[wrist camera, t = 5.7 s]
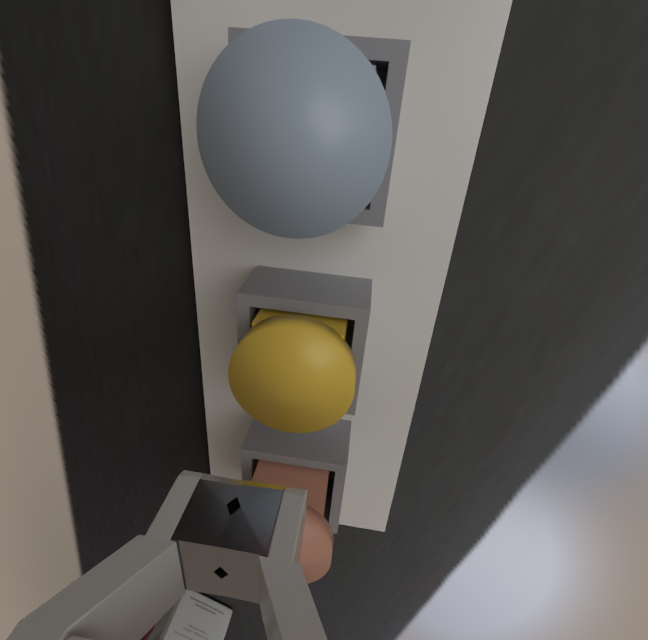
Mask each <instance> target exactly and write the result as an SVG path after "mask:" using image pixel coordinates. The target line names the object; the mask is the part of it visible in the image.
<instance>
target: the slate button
mask: <svg viewBox="0 0 648 640" xmlns="http://www.w3.org/2000/svg"><path fill="white" fill-rule="evenodd" d="M196 133H197V141H198V148H199V152H200V156H201V160H202V163H203V165H204V168H205V171H206V173H207V176H208V178H209V180H210V182H211V184H212V185H213V187H214V189H215V190H216V192H217V193H218V195H219V196H220V197H221V199H222V200H223V201H224V202H225V204H226V205H227V206H228V207H229V208H230V209H231V210H232V211H233V212H234V213H235V214H236V215H237V216H239V217H240V218H241V219H242V220H244V221H245V222H247V223H248V224H250V225H252V226H253V227H255V228H257V229H259V230H261V231H263V232H266V233H268V234H272V235H275V236H279V237H284V238H293V239H304V238H313V237H318V236H322V235H325V234H328V233H331V232H333V231H335V230H337V229H339V228H341V227H343V226H345V225H346V224H348V223H349V222H350V221H352V220H353V219H354V218H356V217H357V216H358V215H359V214H360V213H361V212H362V211H363V210H364V209H365V208H366V206H367V205H368V204H369V203H370V202H371V200H372V199H373V197H374V196H375V194H376V193H377V191H378V189H379V187H380V185H381V183H382V181H383V179H384V176H385V173H386V170H387V167H388V164H389V159H390V154H391V148H392V119H391V112H390V106H389V103H388V99H387V96H386V92H385V90H384V87H383V85H382V83H381V80H380V78H379V76H378V74H377V72H376V65H372V64H371V63H370V62H369V60H368V59H367V58H366V57H365V55H364V54H363V53H362V52H361V51H360V50H359V49H358V48H357V47H356V46H355V45H354V44H353V43H352V42H351V41H350V40H348V39H347V38H346V37H344V36H343V35H341V34H340V33H339V32H337V31H335V30H333V29H331V28H329V27H327V26H325V25H322V24H319V23H316V22H313V21H309V20H302V19H278V20H272V21H267V22H264V23H262V24H259V25H256V26H254V27H252V28H250V29H248V30H246V31H245V32H243V33H241V34H240V35H239V36H237V37H236V38H235V39H234V40H232V41H231V42H230V43H229V44H228V45H227V46H226V47H225V48H224V49H223V50H222V51H221V53H220V54H219V55H218V57H217V58H216V60H215V61H214V62H213V64H212V66H211V68H210V70H209V72H208V74H207V75H206V78H205V80H204V83H203V86H202V89H201V92H200V97H199V101H198V107H197V116H196Z"/></svg>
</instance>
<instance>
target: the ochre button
mask: <svg viewBox="0 0 648 640" xmlns="http://www.w3.org/2000/svg"><path fill="white" fill-rule="evenodd" d="M347 327H348V319H342V318H335V317H327V316H319V315H311V314H304V313H296V312H288V311H280V310H273V309H265V308H261V309H260V311H259V312H258V314H257V316H256V317H255V319H254V320H253V322H252V327H251V328H250V329H249V330H248V331H247V333H246V334H245V335H244V336H243V338H242V340H241V341H240V343H239V344H238V346H237V348H236V349H235V351H234V353H233V354H232V356H231V359H230V362H229V367H228V380H229V385H230V389H231V391H232V393H233V396H234V397H235V399H236V401H237V402H238V403H239V405H240V406H241V407H242V408H243V409H244V410H245V411H246V412H247V413H248V414H249V415H250V416H251V417H253V418H254V419H256V420H257V421H259V422H260V423H262V424H264V425H266V426H268V427H271V428H273V429H277V430H280V431H284V432H291V433H309V432H315V431H319V430H322V429H325V428H327V427H329V426H331V425H333V424H334V423H336V422H337V421H339V420H340V419H341V418H342V417H343V416H344V415H345V414H346V412H347V411H348V409H349V408H350V406H351V404H352V401H353V398H354V393H355V382H356V362H355V358H354V355H353V353H352V351H351V349H350V347H349V345H348V344H347V342H346V336H347Z"/></svg>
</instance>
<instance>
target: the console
mask: <svg viewBox="0 0 648 640" xmlns="http://www.w3.org/2000/svg"><path fill="white" fill-rule="evenodd" d="M511 4H512V0H171V12H172V24H173V36H174V47H175V59H176V71H177V83H178V95H179V106H180V118H181V130H182V142H183V154H184V165H185V177H186V189H187V201H188V213H189V224H190V236H191V248H192V260H193V272H194V283H195V295H196V307H197V319H198V331H199V343H200V354H201V366H202V378H203V390H204V402H205V413H206V425H207V437H208V449H209V461H210V472H211V475H215V476H220V477H226V478H231V479H237V480H242V481H245V480H247V481H252V478H253V475H254V473H255V470H256V467H257V464H258V461H259V460H265V461H272V462H278V463H284V464H290V465H297V466H303V467H309V468H316V469H322V470H328V471H330V472H329V480H328V488H327V497H326V504H325V511H324V518H325V519H326V520H327V521H328V522H329V524H330V526H331V528H332V531H333V533H335V534H337V531H338V524H342V525H348V526H354V527H360V528H366V529H372V530H377V531H383V532H385V528H386V523H387V519H388V515H389V511H390V507H391V503H392V499H393V494H394V490H395V486H396V482H397V478H398V474H399V469H400V465H401V461H402V457H403V453H404V449H405V445H406V440H407V436H408V432H409V428H410V424H411V420H412V415H413V411H414V407H415V403H416V399H417V395H418V391H419V386H420V382H421V378H422V374H423V370H424V366H425V361H426V357H427V353H428V349H429V345H430V341H431V337H432V332H433V328H434V324H435V320H436V316H437V312H438V307H439V303H440V299H441V295H442V291H443V287H444V282H445V278H446V274H447V270H448V266H449V262H450V258H451V253H452V249H453V245H454V241H455V237H456V233H457V228H458V224H459V220H460V216H461V212H462V208H463V204H464V199H465V195H466V191H467V187H468V183H469V179H470V174H471V170H472V166H473V162H474V158H475V154H476V150H477V145H478V141H479V137H480V133H481V129H482V125H483V120H484V116H485V112H486V108H487V104H488V100H489V96H490V91H491V87H492V83H493V79H494V75H495V71H496V66H497V62H498V58H499V54H500V50H501V46H502V42H503V37H504V33H505V29H506V25H507V21H508V17H509V12H510V8H511ZM278 19H302V20H309V21H313V22H316V23H319V24H322V25H325V26H327V27H329V28H331V29H333V30H335V31H337V32H339V33H340V34H341V35H343V36H344V37H346V38H347V39H348V40H350V41H351V42H352V43H353V44H354V45H355V46H356V47H357V48H358V49H359V50H360V51H361V52H362V53H363V54H364V55H365V57H366V58H367V59H368V60H369V62H370V63H371V64H372V65H376V72H377V74H378V76H379V78H380V80H381V83H382V85H383V87H384V90H385V92H386V96H387V99H388V103H389V106H390V112H391V119H392V148H391V154H390V159H389V164H388V167H387V170H386V173H385V176H384V179H383V181H382V183H381V185H380V187H379V189H378V191H377V193H376V194H375V196H374V197H373V199H372V200H371V202H370V203H369V204H368V205H367V206H366V208H365V209H364V210H363V211H362V212H361V213H360V214H359V215H358V216H357V217H356V218H354V219H353V220H352V221H350V222H349V223H348V224H346V225H345V226H343V227H341V228H339V229H337V230H335V231H333V232H331V233H328V234H325V235H322V236H318V237H313V238H304V239H293V238H284V237H279V236H275V235H272V234H268V233H266V232H263V231H261V230H259V229H257V228H255V227H253V226H252V225H250V224H248V223H247V222H245V221H244V220H242V219H241V218H240V217H239V216H237V215H236V214H235V213H234V212H233V211H232V210H231V209H230V208H229V207H228V206H227V205H226V204H225V202H224V201H223V200H222V199H221V197H220V196H219V195H218V193H217V192H216V190H215V189H214V187H213V185H212V184H211V182H210V180H209V178H208V176H207V173H206V171H205V168H204V165H203V163H202V160H201V156H200V152H199V148H198V141H197V133H196V116H197V107H198V101H199V97H200V92H201V89H202V86H203V83H204V80H205V78H206V75H207V74H208V72H209V70H210V68H211V66H212V64H213V62H214V61H215V60H216V58H217V57H218V55H219V54H220V53H221V51H222V50H223V49H224V48H225V47H226V46H227V45H228V44H229V43H230V42H231V41H232V40H234V39H235V38H236V37H237V36H239V35H240V34H241V33H243V32H245V31H246V30H248V29H250V28H252V27H254V26H256V25H259V24H262V23H264V22H267V21H272V20H278ZM261 308H265V309H273V310H280V311H288V312H296V313H304V314H311V315H319V316H327V317H335V318H342V319H348V327H347V336H346V342H347V344H348V345H349V347H350V349H351V351H352V353H353V355H354V358H355V362H356V382H355V393H354V398H353V401H352V404H351V406H350V408H349V409H348V411H347V412H346V414H345V415H344V416H343V417H342V418H341V419H340V420H339V421H337V422H336V423H334V424H333V425H331V426H329V427H327V428H325V429H322V430H319V431H315V432H309V433H291V432H284V431H280V430H277V429H273V428H271V427H268V426H266V425H264V424H262V423H260V422H259V421H257V420H256V419H254V418H253V417H251V416H250V415H249V414H248V413H247V412H246V411H245V410H244V409H243V408H242V407H241V406H240V405H239V403H238V402H237V401H236V399H235V397H234V396H233V393H232V391H231V389H230V385H229V380H228V367H229V362H230V359H231V356H232V354H233V353H234V351H235V349H236V348H237V346H238V344H239V343H240V341H241V340H242V338H243V336H244V335H245V334H246V333H247V331H248V330H249V329H250V328H251V327H252V322H253V320H254V319H255V317H256V316H257V314H258V312H259V311H260V309H261Z"/></svg>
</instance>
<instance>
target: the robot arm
mask: <svg viewBox="0 0 648 640" xmlns="http://www.w3.org/2000/svg"><path fill="white" fill-rule="evenodd" d="M306 504H307V490H303V489H297V488H290V487H286V486H281V485H274V484H267V483H260V482H254V481H247V480H245V481H242V480H237V479H231V478H226V477H220V476H215V475H209V474H205V473H199V472H192V471H186V470H183V471H182V472H181V473H180V475H179V476H178V477H177V479H176V480H175V482H174V484H173V486H172V488H171V489H170V491H169V493H168V495H167V497H166V498H165V500H164V502H163V504H162V506H161V508H160V509H159V511H158V513H157V515H156V517H155V518H154V520H153V522H152V524H151V526H150V527H149V529H148V531H147V533H146V535H137V536H136V537H135V538H133V539H132V540H131V541H129V542H128V543H126V544H125V545H124V546H122V547H121V548H120V549H118V550H117V551H115V552H114V553H113V554H111V555H110V556H109V557H107V558H106V559H105V560H103V561H102V562H100V563H99V564H98V565H96V566H95V567H94V568H92V569H91V570H89V571H88V572H87V573H85V574H84V575H83V576H81V577H80V578H78V579H77V580H76V581H74V582H73V583H72V584H70V585H69V586H67V587H66V588H65V589H63V590H62V591H61V592H59V593H58V594H56V595H55V596H54V597H52V598H51V599H50V600H48V601H47V602H46V603H44V604H43V605H42V606H40V607H39V608H37V609H36V610H34V611H33V612H32V613H30V614H29V615H28V616H26V617H25V618H24V619H22V620H21V621H19V623H18V624H17V625H16V627H15V628H14V630H13V631H12V633H11V634H10V635H9V637H8V638H7V640H141V639H142V638H143V637H144V636H145V634H146V633H147V632H148V631H149V630H150V629H151V628H152V627H153V626H154V625H155V624H156V623H157V622H158V621H159V620H160V619H161V618H162V617H163V616H164V615H165V614H166V613H167V612H168V611H169V610H170V608H171V607H172V606H173V605H174V604H175V603H176V602H177V601H178V600H179V599H180V598H181V597H182V596H183V595H184V594H185V590H189V591H195V592H202V593H208V594H215V595H221V596H226V597H231V598H236V599H240V600H245V601H249V602H254V603H259V604H260V609H261V613H262V618H263V622H264V626H265V631H266V635H267V640H327V638H326V635H325V632H324V629H323V626H322V624H321V621H320V618H319V615H318V613H317V610H316V607H315V604H314V601H313V599H312V596H311V593H310V590H309V587H308V585H307V582H306V579H305V576H304V574H303V571H302V568H301V565H300V563H299V558H300V553H301V547H302V540H303V533H304V525H305V515H306Z"/></svg>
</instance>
